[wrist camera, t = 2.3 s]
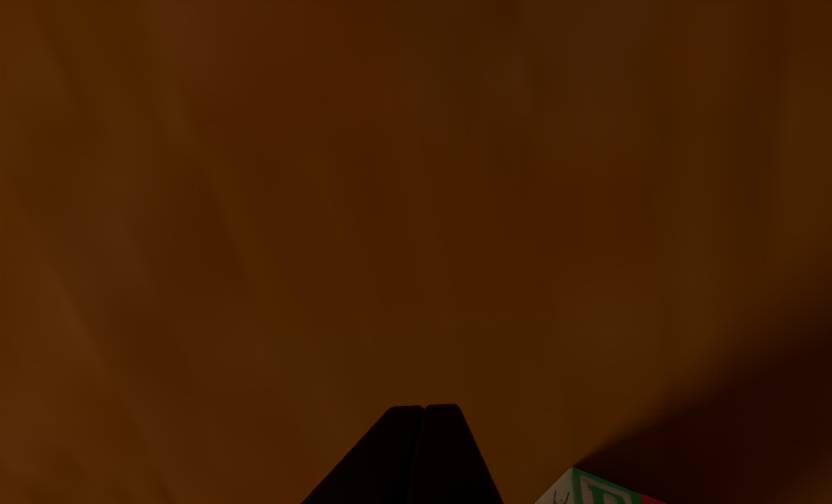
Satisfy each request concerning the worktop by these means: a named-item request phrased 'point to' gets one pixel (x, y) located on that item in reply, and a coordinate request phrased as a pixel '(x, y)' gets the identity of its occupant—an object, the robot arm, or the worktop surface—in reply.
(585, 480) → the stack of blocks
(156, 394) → the worktop surface
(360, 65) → the worktop surface
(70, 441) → the worktop surface
